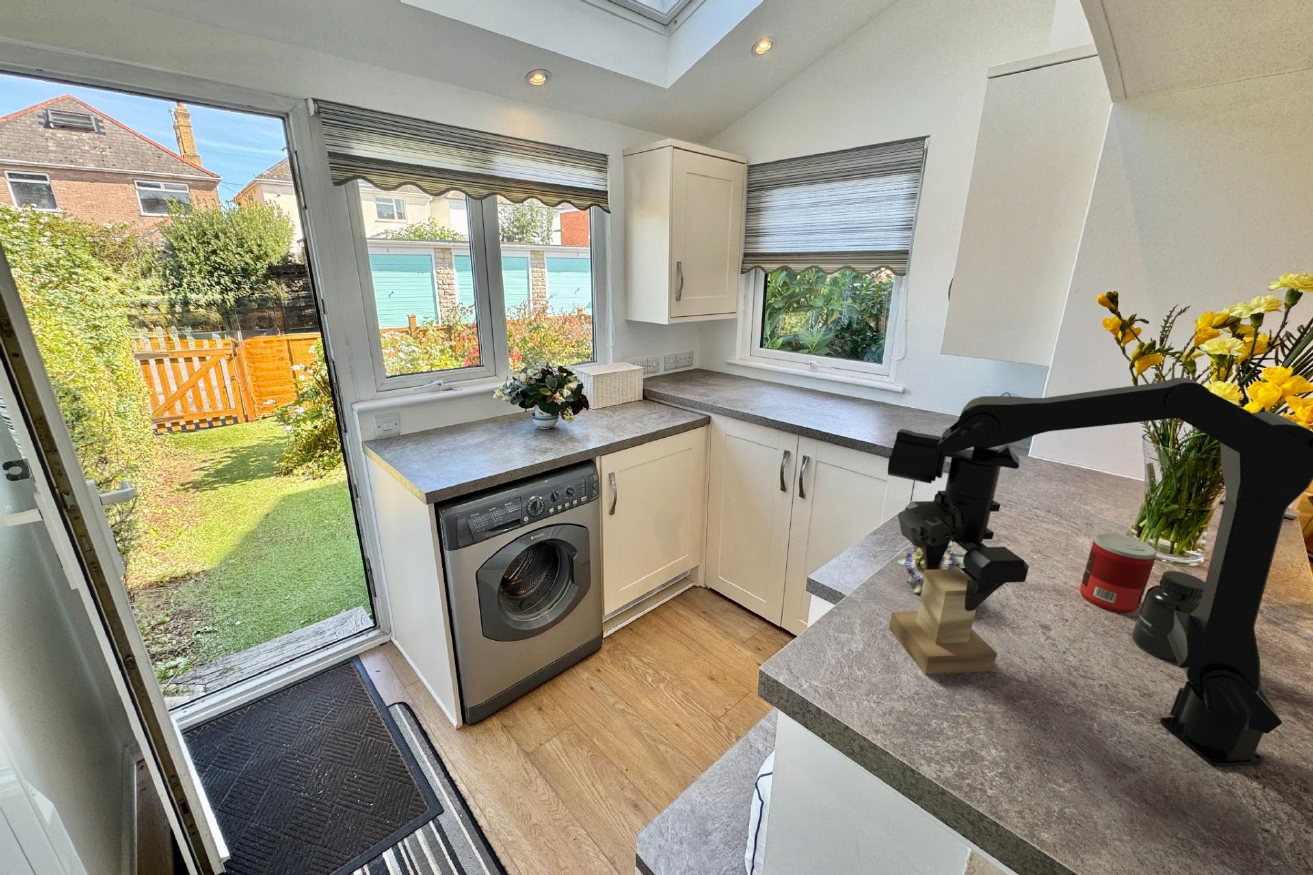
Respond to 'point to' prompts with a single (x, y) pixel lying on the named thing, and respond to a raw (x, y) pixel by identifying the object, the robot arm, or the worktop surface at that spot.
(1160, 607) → the supplement bottle
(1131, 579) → the canned food
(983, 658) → the walnut block
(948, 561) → the passion flower
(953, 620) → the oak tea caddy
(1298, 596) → the worktop surface
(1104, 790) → the worktop surface
